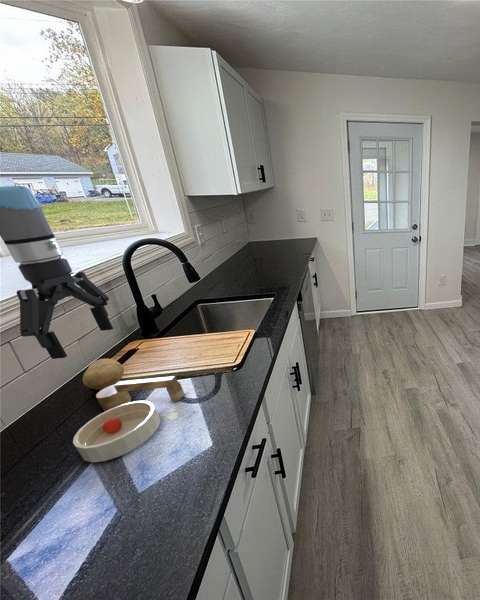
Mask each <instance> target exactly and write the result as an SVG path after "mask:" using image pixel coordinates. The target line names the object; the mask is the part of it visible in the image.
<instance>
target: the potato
mask: <svg viewBox="0 0 480 600" xmlns="http://www.w3.org/2000/svg"><path fill="white" fill-rule="evenodd" d="M124 373H125V367H124V365H123V364H121V363H120V362H119V361H117V360H115V359H113V358H100V359H97V360H95V361H93V362H91V364H89V366H88V367H87V369H86V370H85V372H84V373H83V375H82V383H83V385H84V386H85V387H87V388H89V389H92V390H97V391H98V390H99V391H101V390H102V389H104V388H106V387H108V386H111V385H114V384H116V383H118V382H119V381H122V377H123V375H124Z"/></svg>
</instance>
